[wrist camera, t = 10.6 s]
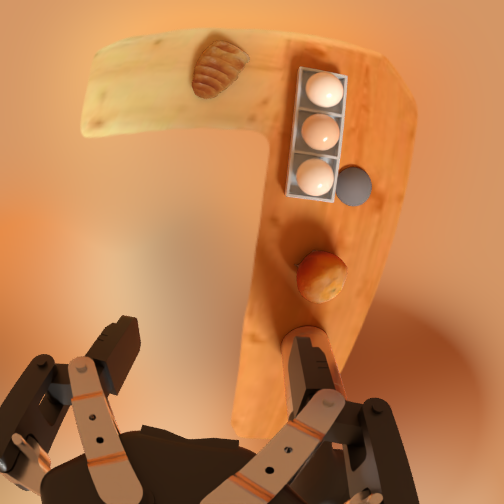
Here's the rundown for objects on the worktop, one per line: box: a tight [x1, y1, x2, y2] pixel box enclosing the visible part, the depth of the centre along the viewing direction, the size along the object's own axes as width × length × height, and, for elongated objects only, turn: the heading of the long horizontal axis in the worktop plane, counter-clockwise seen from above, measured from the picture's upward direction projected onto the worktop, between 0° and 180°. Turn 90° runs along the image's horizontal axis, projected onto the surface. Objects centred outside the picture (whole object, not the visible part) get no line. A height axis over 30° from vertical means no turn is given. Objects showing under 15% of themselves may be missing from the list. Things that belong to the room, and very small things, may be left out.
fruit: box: [294, 250, 347, 304], centre depth 41 cm, size 8×8×8 cm
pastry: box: [192, 41, 250, 99], centre depth 32 cm, size 9×7×4 cm
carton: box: [285, 66, 348, 203], centre depth 35 cm, size 19×7×2 cm, turn 174°
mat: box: [335, 167, 372, 206], centre depth 39 cm, size 6×6×1 cm
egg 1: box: [306, 72, 343, 107], centre depth 31 cm, size 5×5×5 cm
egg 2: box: [296, 158, 334, 196], centre depth 36 cm, size 5×5×5 cm
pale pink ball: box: [301, 113, 340, 151], centre depth 33 cm, size 5×5×5 cm
